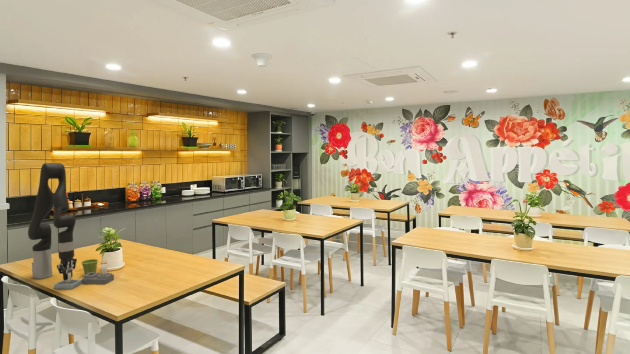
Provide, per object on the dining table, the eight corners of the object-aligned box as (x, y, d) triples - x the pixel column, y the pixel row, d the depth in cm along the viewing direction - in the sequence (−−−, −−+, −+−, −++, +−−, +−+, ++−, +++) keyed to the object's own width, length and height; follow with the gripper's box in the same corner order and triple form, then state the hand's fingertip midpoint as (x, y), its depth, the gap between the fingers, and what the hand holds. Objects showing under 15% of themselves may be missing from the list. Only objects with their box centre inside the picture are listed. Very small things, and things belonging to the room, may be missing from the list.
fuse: (100, 277, 223) (99, 262, 222) (103, 275, 226) (102, 261, 226) (105, 277, 223) (104, 263, 222) (108, 275, 226) (108, 261, 226)
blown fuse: (63, 283, 216) (62, 267, 215) (67, 281, 219) (66, 266, 218) (69, 283, 215) (68, 267, 215) (72, 281, 219) (72, 266, 218)
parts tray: (53, 289, 213) (53, 284, 213) (64, 283, 222) (64, 279, 222) (71, 289, 213) (71, 284, 213) (81, 283, 221) (81, 279, 221)
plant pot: (79, 277, 232) (78, 264, 231) (84, 272, 241) (83, 259, 240) (96, 276, 235) (95, 262, 234) (100, 271, 244) (100, 258, 243)
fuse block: (81, 284, 221) (81, 276, 221) (91, 278, 230) (91, 271, 230) (104, 284, 220) (104, 277, 220) (113, 279, 229) (113, 271, 229)
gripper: (68, 246, 223) (70, 274, 224) (50, 252, 209) (52, 283, 210) (80, 246, 223) (82, 274, 224) (63, 252, 209) (65, 283, 210)
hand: (67, 278), depth 217 cm, fingers closed on blown fuse, 3 cm apart
